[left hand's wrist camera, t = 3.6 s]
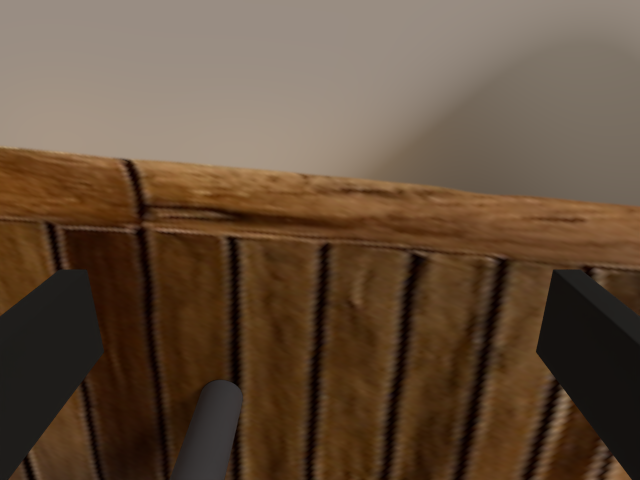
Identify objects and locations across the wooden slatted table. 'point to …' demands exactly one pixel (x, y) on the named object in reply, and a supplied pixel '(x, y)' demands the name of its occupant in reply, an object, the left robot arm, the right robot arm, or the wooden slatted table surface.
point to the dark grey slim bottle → (210, 433)
